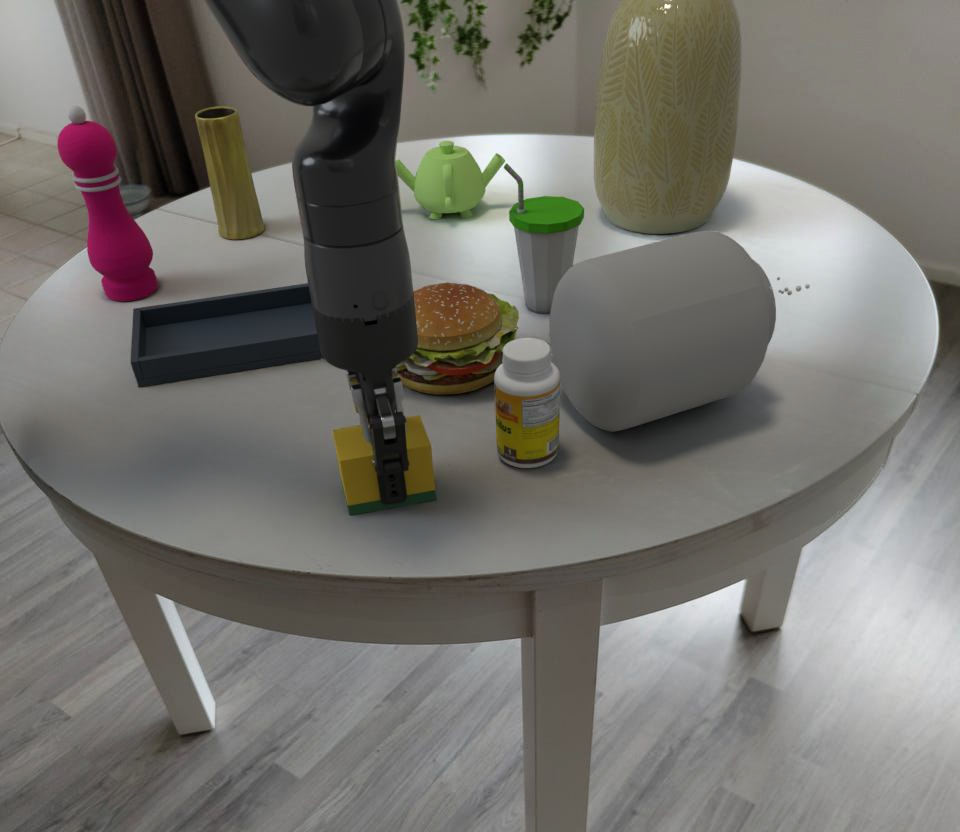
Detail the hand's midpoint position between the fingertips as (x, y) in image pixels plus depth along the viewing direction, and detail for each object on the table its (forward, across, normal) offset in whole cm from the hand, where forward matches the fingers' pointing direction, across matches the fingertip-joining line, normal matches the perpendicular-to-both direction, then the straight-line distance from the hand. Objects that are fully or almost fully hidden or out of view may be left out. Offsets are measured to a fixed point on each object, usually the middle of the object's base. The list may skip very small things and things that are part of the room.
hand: (388, 482), depth 80 cm
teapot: (+1, -62, +19) cm, 65 cm away
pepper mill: (+1, -50, -23) cm, 55 cm away
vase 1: (+1, -64, -9) cm, 65 cm away
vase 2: (+1, -50, +44) cm, 67 cm away
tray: (+1, -32, -11) cm, 34 cm away
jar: (+1, -9, +30) cm, 31 cm away
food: (+1, -19, +10) cm, 22 cm away
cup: (+1, -30, +23) cm, 38 cm away
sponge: (+1, 0, 0) cm, 1 cm away
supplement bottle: (+1, -2, +13) cm, 13 cm away
